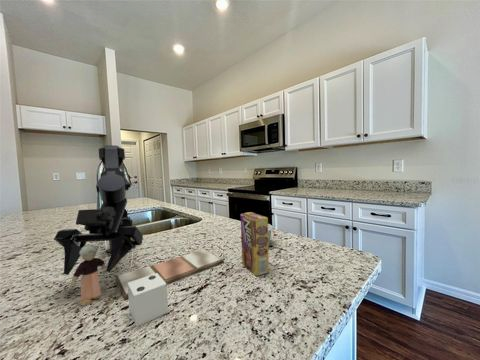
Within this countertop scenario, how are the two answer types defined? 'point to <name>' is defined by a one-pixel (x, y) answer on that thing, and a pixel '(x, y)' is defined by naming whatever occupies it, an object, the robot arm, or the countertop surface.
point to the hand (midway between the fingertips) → (87, 272)
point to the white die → (147, 298)
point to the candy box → (255, 243)
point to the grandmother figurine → (89, 274)
